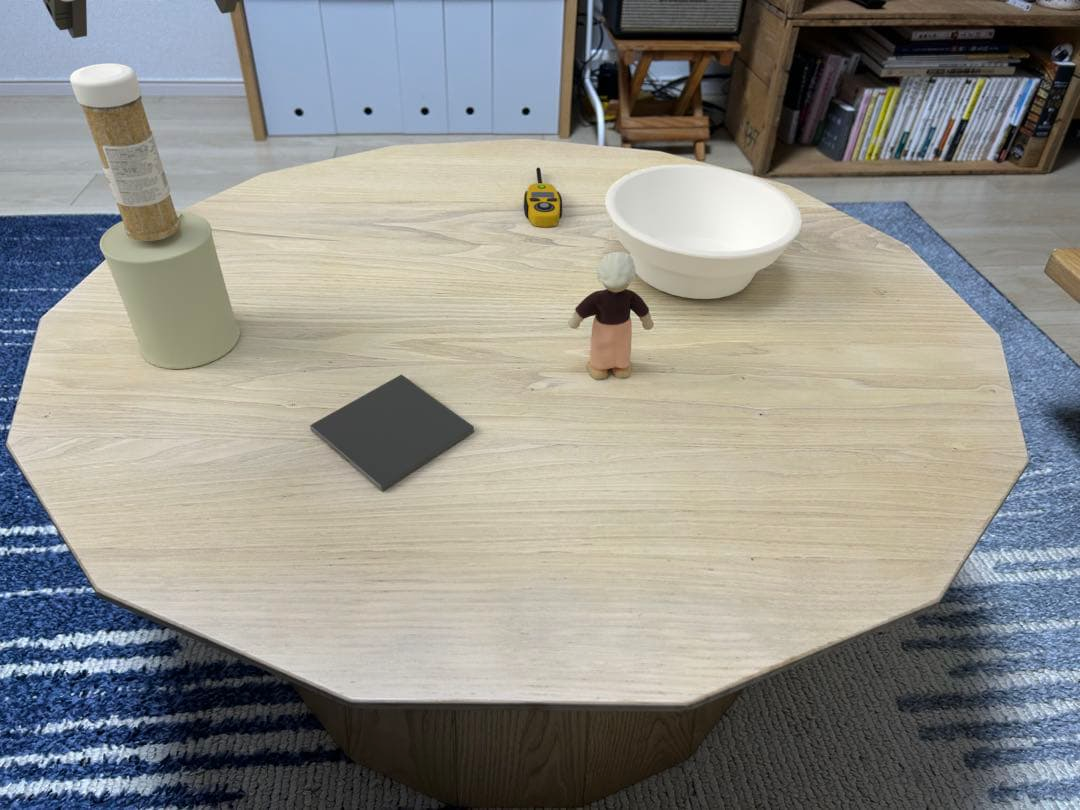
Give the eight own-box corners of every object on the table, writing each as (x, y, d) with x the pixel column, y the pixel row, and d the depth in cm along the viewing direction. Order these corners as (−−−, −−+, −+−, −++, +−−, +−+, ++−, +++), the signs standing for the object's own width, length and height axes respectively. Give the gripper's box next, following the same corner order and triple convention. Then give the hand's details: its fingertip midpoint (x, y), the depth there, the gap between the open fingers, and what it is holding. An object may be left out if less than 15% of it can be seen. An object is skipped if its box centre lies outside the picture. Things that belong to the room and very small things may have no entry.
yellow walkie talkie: (525, 213, 93) (520, 160, 104) (525, 227, 94) (520, 173, 105) (565, 213, 93) (556, 160, 104) (564, 228, 94) (555, 173, 105)
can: (254, 317, 78) (226, 209, 70) (217, 373, 71) (182, 261, 63) (167, 309, 79) (129, 201, 71) (121, 364, 72) (74, 252, 64)
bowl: (640, 210, 98) (648, 149, 93) (803, 255, 91) (822, 190, 86) (567, 288, 84) (571, 220, 79) (754, 347, 77) (773, 278, 72)
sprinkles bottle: (132, 219, 68) (77, 61, 59) (186, 216, 69) (139, 60, 60) (120, 245, 65) (60, 82, 56) (177, 242, 66) (126, 81, 57)
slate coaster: (382, 492, 61) (381, 487, 61) (310, 430, 66) (309, 425, 66) (474, 431, 67) (474, 426, 66) (401, 378, 72) (401, 373, 71)
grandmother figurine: (634, 352, 76) (651, 238, 68) (648, 376, 73) (668, 261, 65) (560, 363, 74) (568, 248, 66) (572, 388, 72) (582, 271, 63)
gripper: (290, -315, 34) (234, -64, 48) (-85, -341, 27) (-23, -36, 41) (368, -153, 35) (291, 48, 48) (23, -135, 27) (48, 96, 41)
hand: (148, 10), depth 44 cm, fingers open, 8 cm apart
